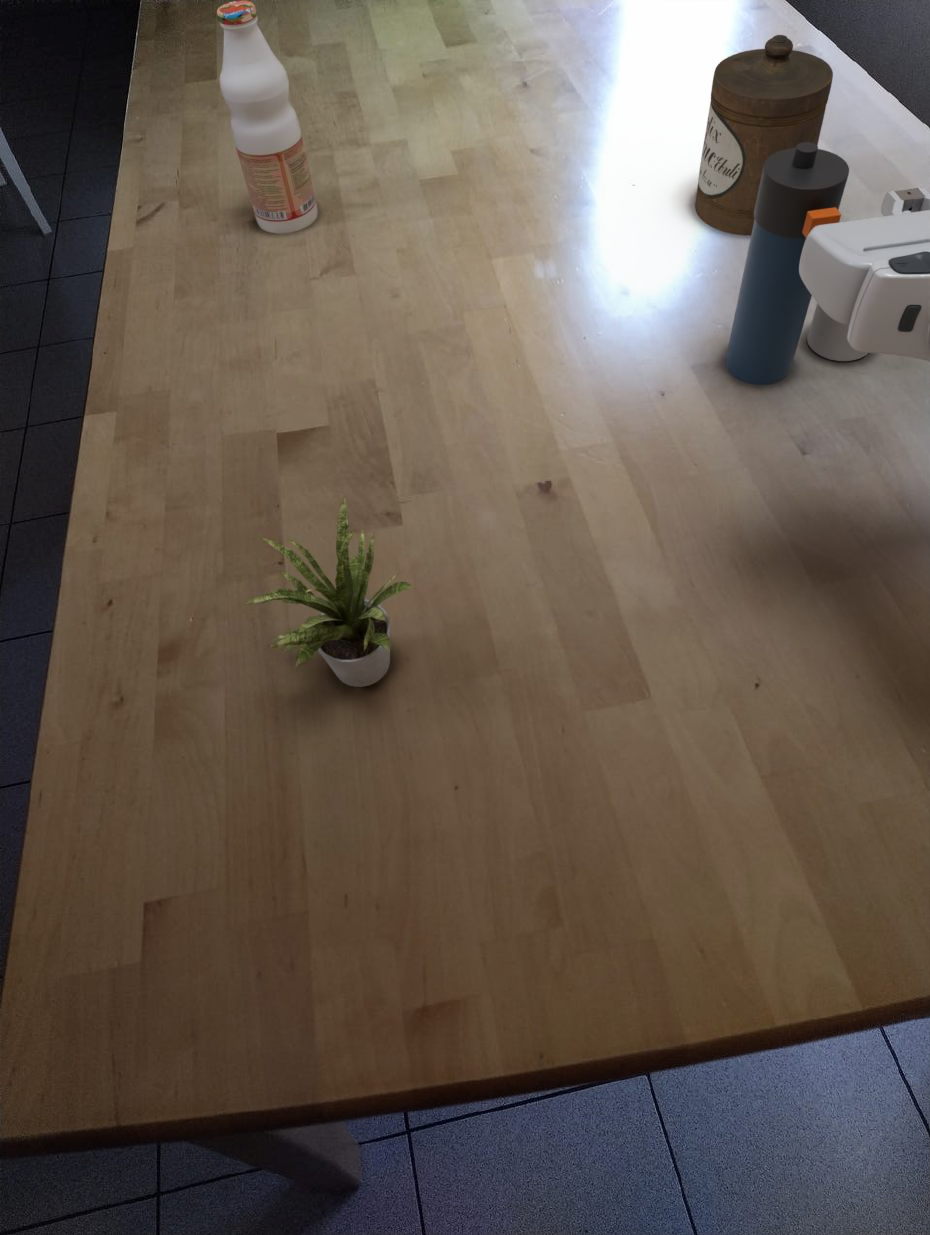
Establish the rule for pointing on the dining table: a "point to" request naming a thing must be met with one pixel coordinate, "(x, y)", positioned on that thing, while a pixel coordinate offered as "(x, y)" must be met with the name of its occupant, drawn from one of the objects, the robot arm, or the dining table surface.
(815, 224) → the orange block
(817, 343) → the can
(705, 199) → the wooden container
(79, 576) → the dining table surface
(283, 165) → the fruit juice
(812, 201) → the bottle
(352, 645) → the house plant
